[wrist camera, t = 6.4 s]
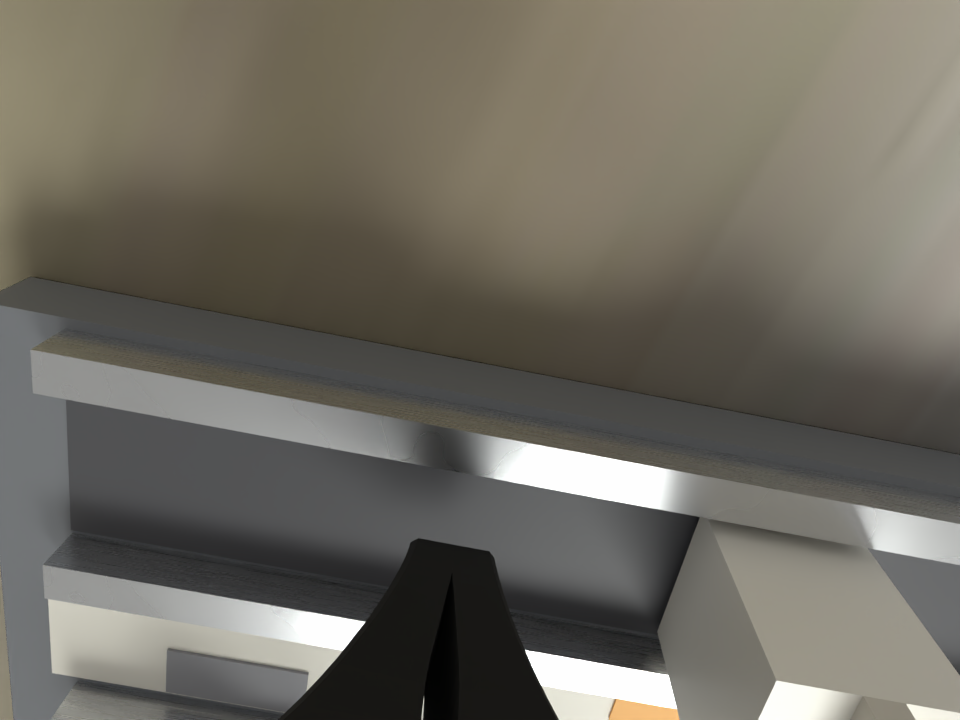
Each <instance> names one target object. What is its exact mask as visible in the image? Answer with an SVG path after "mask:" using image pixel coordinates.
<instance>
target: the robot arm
mask: <svg viewBox="0 0 960 720" xmlns="http://www.w3.org/2000/svg"><path fill="white" fill-rule="evenodd" d="M423 699H424V712H423V720H559V719H558V717H557V715H556V713H555V711H554V710H553V708H552V706H551V704H550V702H549V700H548V698H547V696H546V694H545V692H544V690H543V688H542V686H541V684H540V682H539V680H538V678H537V676H536V673H535V671H534V669H533V667H532V665H531V662H530V660H529V658H528V656H527V653H526V651H525V649H524V646H523V644H522V641H521V639H520V636H519V634H518V631H517V629H516V627H515V624H514V621H513V619H512V616H511V613H510V610H509V608H508V605H507V602H506V599H505V596H504V593H503V589H502V586H501V583H500V579H499V576H498V572H497V568H496V563H495V558H494V557H493V555H492V554H491V553H490V551H485V550H480V549H474V548H469V547H464V546H458V545H453V544H447V543H442V542H437V541H431V540H426V539H421V538H417V539H416V540H414V541H412V542H410V545H409V549H408V552H407V554H406V556H405V559H404V561H403V563H402V565H401V567H400V569H399V571H398V572H397V574H396V576H395V578H394V579H393V581H392V583H391V584H390V586H389V588H388V590H387V591H386V593H385V594H384V595H383V597H382V598H381V600H380V601H379V603H378V604H377V606H376V607H375V609H374V610H373V612H372V613H371V615H370V616H369V618H368V619H367V620H366V622H365V623H364V624H363V626H362V627H361V628H360V630H359V631H358V632H357V633H356V635H355V636H354V637H353V638H352V640H351V641H350V642H349V644H348V645H347V646H346V647H345V649H344V650H343V651H342V652H341V654H340V655H339V656H338V657H337V658H336V660H335V661H334V662H333V663H332V664H331V665H330V667H329V668H328V669H327V670H326V671H325V672H324V673H323V674H322V676H321V677H320V678H319V679H318V680H317V681H316V682H315V683H314V684H313V685H312V686H311V687H310V688H309V689H308V690H307V692H306V693H305V694H304V695H303V696H302V697H301V698H300V699H299V700H298V701H297V702H296V703H295V704H294V705H293V706H292V707H291V708H289V709H288V710H287V711H286V712H285V713H284V714H283V715H282V716H281V717H280V718H279V719H278V720H421V716H422V708H423Z"/></svg>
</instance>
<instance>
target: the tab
mask: <svg viewBox="0 0 960 720" xmlns="http://www.w3.org/2000/svg"><path fill="white" fill-rule="evenodd" d="M657 633H658V637H659V641H660V645H661V649H662V653H663V657H664V661H665V664H666V668H667V672H668V676H669V680H670V684H671V688H672V692H673V696H674V700H675V704H676V708H677V711H678V715H679V719H680V720H960V675H959V674H958V672H957V671H956V670H955V668H954V667H953V665H952V664H951V663H950V661H949V660H948V659H947V657H946V656H945V654H944V653H943V652H942V650H941V649H940V648H939V646H938V645H937V643H936V642H935V641H934V639H933V638H932V637H931V635H930V634H929V632H928V631H927V630H926V628H925V627H924V626H923V624H922V623H921V621H920V620H919V619H918V617H917V616H916V614H915V613H914V612H913V610H912V609H911V608H910V606H909V605H908V603H907V602H906V601H905V599H904V598H903V597H902V595H901V594H900V592H899V591H898V590H897V588H896V587H895V586H894V584H893V583H892V581H891V580H890V579H889V577H888V576H887V575H886V573H885V572H884V570H883V569H882V568H881V566H880V565H879V564H878V562H877V561H876V559H875V558H874V557H873V555H872V554H871V552H870V551H869V550H868V548H864V547H859V546H854V545H848V544H843V543H837V542H832V541H827V540H821V539H816V538H810V537H805V536H800V535H794V534H789V533H784V532H778V531H773V530H767V529H762V528H757V527H751V526H746V525H740V524H735V523H730V522H724V521H719V520H713V519H708V518H703V517H700V518H699V521H698V523H697V526H696V529H695V531H694V534H693V537H692V540H691V542H690V545H689V548H688V550H687V553H686V556H685V558H684V561H683V564H682V566H681V569H680V572H679V574H678V577H677V580H676V582H675V585H674V588H673V591H672V593H671V596H670V599H669V601H668V604H667V607H666V609H665V612H664V615H663V617H662V620H661V623H660V625H659V628H658V631H657Z"/></svg>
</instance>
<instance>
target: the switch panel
mask: <svg viewBox="0 0 960 720" xmlns="http://www.w3.org/2000/svg"><path fill="white" fill-rule="evenodd" d="M700 517H703V518H708V519H713V520H719V521H724V522H730V523H735V524H740V525H746V526H751V527H757V528H762V529H767V530H773V531H778V532H784V533H789V534H794V535H800V536H805V537H810V538H816V539H821V540H827V541H832V542H837V543H843V544H848V545H854V546H859V547H864V548H868V550H869V551H870V552H871V554H872V555H873V557H874V558H875V559H876V561H877V562H878V564H879V565H880V566H881V568H882V569H883V570H884V572H885V573H886V575H887V576H888V577H889V579H890V580H891V581H892V583H893V584H894V586H895V587H896V588H897V590H898V591H899V592H900V594H901V595H902V597H903V598H904V599H905V601H906V602H907V603H908V605H909V606H910V608H911V609H912V610H913V612H914V613H915V614H916V616H917V617H918V619H919V620H920V621H921V623H922V624H923V626H924V627H925V628H926V630H927V631H928V632H929V634H930V635H931V637H932V638H933V639H934V641H935V642H936V643H937V645H938V646H939V648H940V649H941V650H942V652H943V653H944V654H945V656H946V657H947V659H948V660H949V661H950V663H951V664H952V665H953V667H954V668H955V670H956V671H957V672H958V674H959V675H960V455H958V454H953V453H948V452H943V451H938V450H932V449H927V448H922V447H917V446H911V445H906V444H901V443H896V442H891V441H885V440H880V439H875V438H870V437H864V436H859V435H854V434H849V433H844V432H838V431H833V430H828V429H823V428H817V427H812V426H807V425H802V424H797V423H791V422H786V421H781V420H776V419H770V418H765V417H760V416H755V415H750V414H744V413H739V412H734V411H729V410H723V409H718V408H713V407H708V406H703V405H697V404H692V403H687V402H682V401H676V400H671V399H666V398H661V397H656V396H650V395H645V394H640V393H635V392H629V391H624V390H619V389H614V388H609V387H603V386H598V385H593V384H588V383H582V382H577V381H572V380H567V379H562V378H556V377H551V376H546V375H541V374H535V373H530V372H525V371H520V370H515V369H509V368H504V367H499V366H494V365H488V364H483V363H478V362H473V361H468V360H462V359H457V358H452V357H447V356H441V355H436V354H431V353H426V352H421V351H415V350H410V349H405V348H400V347H394V346H389V345H384V344H379V343H374V342H368V341H363V340H358V339H353V338H348V337H342V336H337V335H332V334H327V333H321V332H316V331H311V330H306V329H301V328H295V327H290V326H285V325H280V324H274V323H269V322H264V321H259V320H254V319H248V318H243V317H238V316H233V315H227V314H222V313H217V312H212V311H207V310H201V309H196V308H191V307H186V306H180V305H175V304H170V303H165V302H160V301H154V300H149V299H144V298H139V297H133V296H128V295H123V294H118V293H113V292H107V291H102V290H97V289H92V288H86V287H81V286H76V285H71V284H66V283H60V282H55V281H50V280H45V279H39V278H34V277H29V278H27V279H25V280H23V281H21V282H18V283H16V284H14V285H12V286H10V287H8V288H5V289H3V290H1V291H0V566H1V578H2V590H3V601H4V613H5V625H6V637H7V648H8V660H9V672H10V684H11V695H12V707H13V719H14V720H278V719H279V718H280V717H281V716H282V715H283V714H284V713H285V712H286V711H287V710H288V709H289V708H291V707H292V706H293V705H294V704H295V703H296V702H297V701H298V700H299V699H300V698H301V697H302V696H303V695H304V694H305V693H306V692H307V690H308V689H309V688H310V687H311V686H312V685H313V684H314V683H315V682H316V681H317V680H318V679H319V678H320V677H321V676H322V674H323V673H324V672H325V671H326V670H327V669H328V668H329V667H330V665H331V664H332V663H333V662H334V661H335V660H336V658H337V657H338V656H339V655H340V654H341V652H342V651H343V650H344V649H345V647H346V646H347V645H348V644H349V642H350V641H351V640H352V638H353V637H354V636H355V635H356V633H357V632H358V631H359V630H360V628H361V627H362V626H363V624H364V623H365V622H366V620H367V619H368V618H369V616H370V615H371V613H372V612H373V610H374V609H375V607H376V606H377V604H378V603H379V601H380V600H381V598H382V597H383V595H384V594H385V593H386V591H387V590H388V588H389V586H390V584H391V583H392V581H393V579H394V578H395V576H396V574H397V572H398V571H399V569H400V567H401V565H402V563H403V561H404V559H405V556H406V554H407V552H408V549H409V545H410V542H412V541H414V540H416V539H417V538H421V539H426V540H431V541H437V542H442V543H447V544H453V545H458V546H464V547H469V548H474V549H480V550H485V551H490V553H491V554H492V555H493V557H494V558H495V563H496V568H497V572H498V576H499V579H500V583H501V586H502V589H503V593H504V596H505V599H506V602H507V605H508V608H509V610H510V613H511V616H512V619H513V621H514V624H515V627H516V629H517V631H518V634H519V636H520V639H521V641H522V644H523V646H524V649H525V651H526V653H527V656H528V658H529V660H530V662H531V665H532V667H533V669H534V671H535V673H536V676H537V678H538V680H539V682H540V684H541V686H542V688H543V690H544V692H545V694H546V696H547V698H548V700H549V702H550V704H551V706H552V708H553V710H554V711H555V713H556V715H557V717H558V719H559V720H680V719H679V715H678V711H677V708H676V704H675V700H674V696H673V692H672V688H671V684H670V680H669V676H668V672H667V668H666V664H665V661H664V657H663V653H662V649H661V645H660V641H659V637H658V633H657V631H658V628H659V625H660V623H661V620H662V617H663V615H664V612H665V609H666V607H667V604H668V601H669V599H670V596H671V593H672V591H673V588H674V585H675V582H676V580H677V577H678V574H679V572H680V569H681V566H682V564H683V561H684V558H685V556H686V553H687V550H688V548H689V545H690V542H691V540H692V537H693V534H694V531H695V529H696V526H697V523H698V521H699V518H700ZM423 712H424V699H423V708H422V716H421V720H423Z"/></svg>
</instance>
